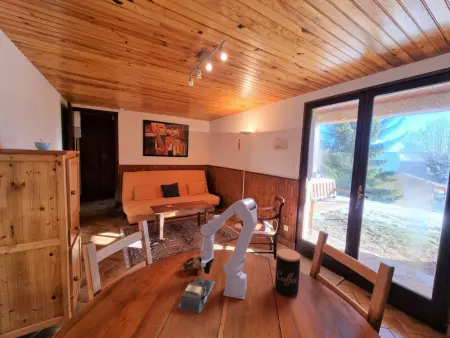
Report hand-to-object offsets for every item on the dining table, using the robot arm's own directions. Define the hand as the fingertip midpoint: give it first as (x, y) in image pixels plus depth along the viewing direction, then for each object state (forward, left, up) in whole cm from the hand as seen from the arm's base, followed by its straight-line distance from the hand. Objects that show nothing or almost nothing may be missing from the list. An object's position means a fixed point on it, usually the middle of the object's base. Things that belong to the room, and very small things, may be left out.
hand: (207, 273), depth 101 cm
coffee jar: (-39, -2, -3) cm, 39 cm away
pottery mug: (+9, -4, -3) cm, 10 cm away
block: (0, +17, -2) cm, 17 cm away
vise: (0, +12, -3) cm, 12 cm away
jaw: (0, +12, -2) cm, 12 cm away
